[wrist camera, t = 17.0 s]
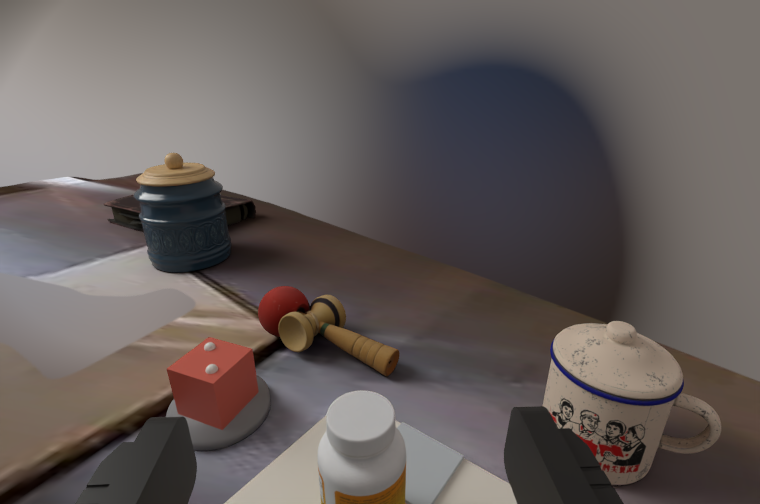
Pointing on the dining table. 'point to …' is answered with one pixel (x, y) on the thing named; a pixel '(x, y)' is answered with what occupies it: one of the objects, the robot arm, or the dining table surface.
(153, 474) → the robot arm
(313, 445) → the game board
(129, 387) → the dining table surface
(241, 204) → the diary
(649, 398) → the teacup with lid
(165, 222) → the canister
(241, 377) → the red die
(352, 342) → the kendama
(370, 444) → the supplement bottle
